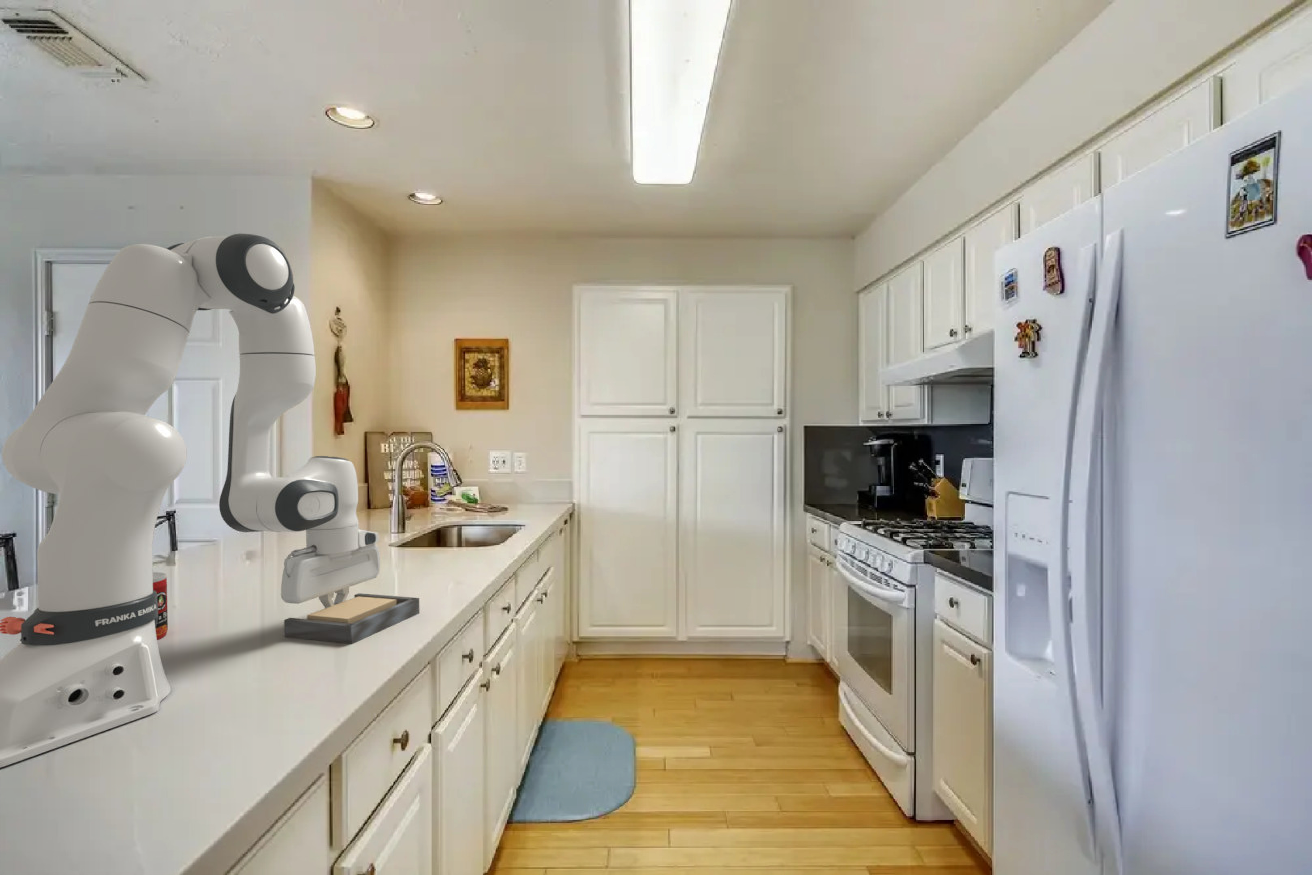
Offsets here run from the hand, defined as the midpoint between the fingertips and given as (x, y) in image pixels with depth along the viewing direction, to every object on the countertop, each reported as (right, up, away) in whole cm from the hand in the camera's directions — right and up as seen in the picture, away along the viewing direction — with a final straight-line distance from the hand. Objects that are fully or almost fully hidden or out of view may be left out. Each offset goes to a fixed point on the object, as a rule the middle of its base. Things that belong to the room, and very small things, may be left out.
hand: (334, 613), depth 112 cm
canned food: (-30, -2, -8) cm, 31 cm away
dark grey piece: (+4, -2, -1) cm, 4 cm away
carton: (+5, -2, -2) cm, 6 cm away
